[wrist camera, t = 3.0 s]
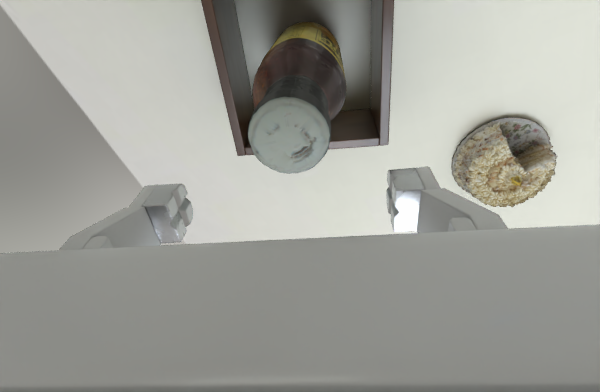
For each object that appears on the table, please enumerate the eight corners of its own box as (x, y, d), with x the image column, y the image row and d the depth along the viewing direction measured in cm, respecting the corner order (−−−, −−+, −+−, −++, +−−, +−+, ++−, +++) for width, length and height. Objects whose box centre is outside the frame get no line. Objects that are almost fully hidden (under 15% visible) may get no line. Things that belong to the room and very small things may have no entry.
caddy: (381, -43, 29) (396, -42, 23) (377, 115, 36) (388, 145, 31) (220, -22, 30) (196, -17, 24) (250, 125, 38) (237, 156, 32)
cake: (513, 200, 42) (532, 231, 38) (434, 182, 41) (445, 212, 37) (571, 128, 36) (601, 156, 32) (479, 106, 35) (498, 132, 31)
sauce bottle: (342, 83, 35) (360, 197, 18) (280, 91, 35) (244, 207, 19) (336, 9, 31) (353, 70, 15) (267, 20, 32) (210, 89, 15)
